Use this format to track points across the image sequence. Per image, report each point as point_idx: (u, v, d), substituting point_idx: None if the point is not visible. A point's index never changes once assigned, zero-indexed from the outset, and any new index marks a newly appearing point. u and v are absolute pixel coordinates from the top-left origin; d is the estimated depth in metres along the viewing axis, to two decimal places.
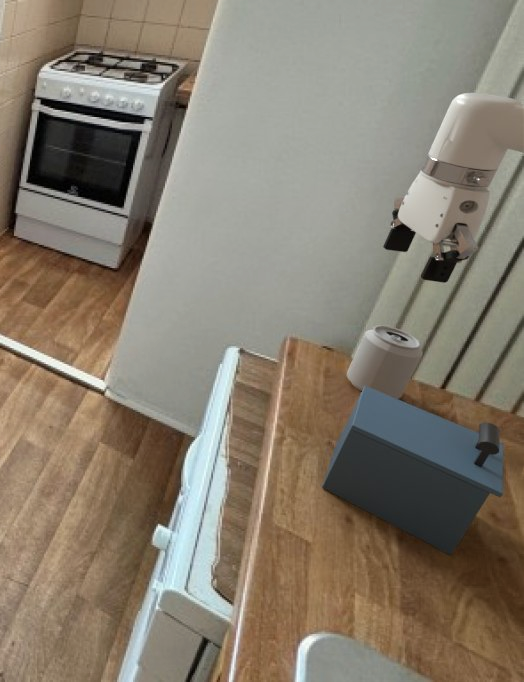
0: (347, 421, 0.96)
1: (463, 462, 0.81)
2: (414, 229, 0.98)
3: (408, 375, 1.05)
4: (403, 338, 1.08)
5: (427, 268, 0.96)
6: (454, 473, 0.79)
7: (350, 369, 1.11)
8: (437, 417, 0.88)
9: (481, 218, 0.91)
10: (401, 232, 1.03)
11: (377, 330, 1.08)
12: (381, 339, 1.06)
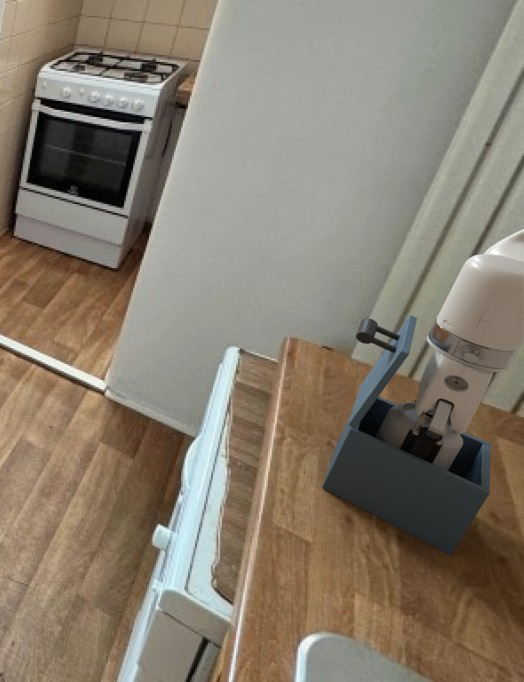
0: (347, 421, 0.96)
1: (389, 360, 0.84)
2: None
3: (445, 469, 0.83)
4: None
5: (404, 441, 0.84)
6: (387, 374, 0.82)
7: None
8: None
9: (474, 402, 0.77)
10: None
11: (404, 408, 0.87)
12: (410, 422, 0.84)
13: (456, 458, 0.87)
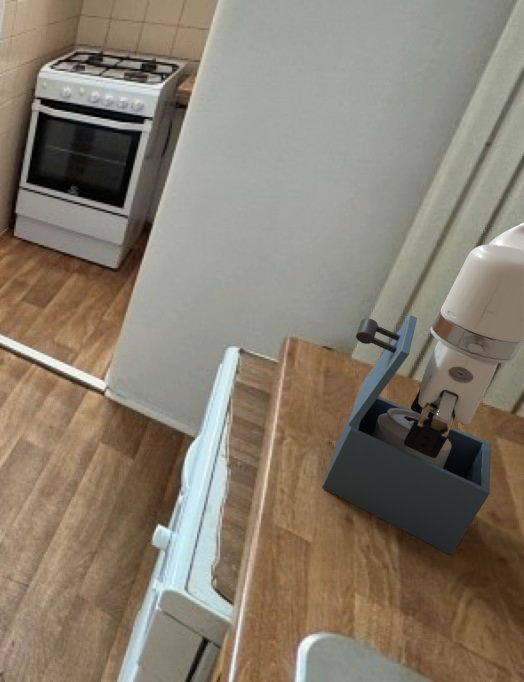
0: (347, 421, 0.96)
1: (389, 360, 0.84)
2: (420, 389, 0.84)
3: None
4: None
5: (409, 433, 0.83)
6: (387, 374, 0.82)
7: None
8: None
9: (479, 394, 0.77)
10: None
11: (393, 414, 0.89)
12: (399, 426, 0.86)
13: (456, 458, 0.87)
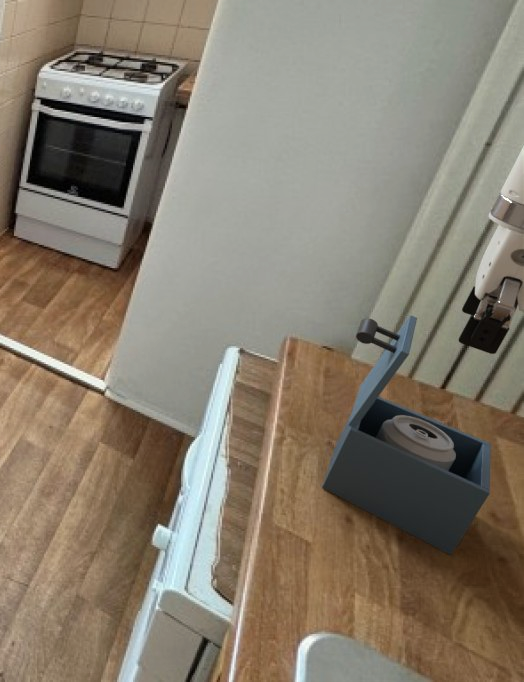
0: (347, 421, 0.96)
1: (389, 360, 0.84)
2: None
3: None
4: (430, 432, 0.87)
5: (465, 329, 0.76)
6: (387, 374, 0.82)
7: None
8: None
9: None
10: None
11: (398, 422, 0.88)
12: (403, 435, 0.85)
13: (456, 458, 0.87)
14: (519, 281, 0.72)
